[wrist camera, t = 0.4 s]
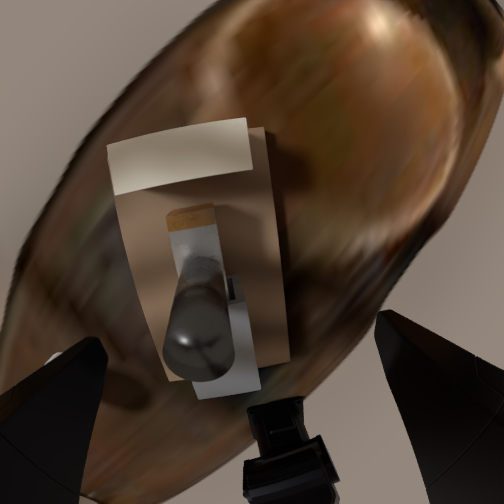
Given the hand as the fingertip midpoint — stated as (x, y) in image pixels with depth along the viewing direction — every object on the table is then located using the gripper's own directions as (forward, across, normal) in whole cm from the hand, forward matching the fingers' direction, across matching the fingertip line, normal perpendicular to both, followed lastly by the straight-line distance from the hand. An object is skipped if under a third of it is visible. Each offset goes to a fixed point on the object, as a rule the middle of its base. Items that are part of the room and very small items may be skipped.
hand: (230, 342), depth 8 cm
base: (+15, +4, +4) cm, 16 cm away
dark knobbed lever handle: (+12, +3, +6) cm, 14 cm away
